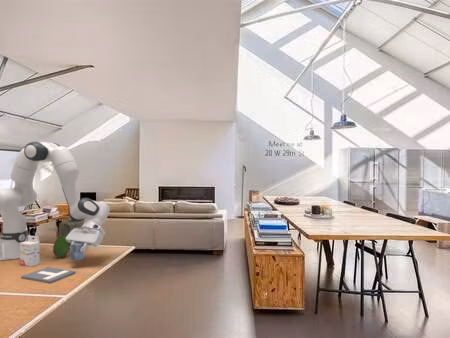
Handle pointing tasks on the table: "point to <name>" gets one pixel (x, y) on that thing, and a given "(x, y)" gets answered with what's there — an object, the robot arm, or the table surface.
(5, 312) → the table surface
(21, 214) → the robot arm
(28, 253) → the ink cartridge box
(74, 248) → the slate-blue block
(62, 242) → the fruit
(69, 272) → the letter board
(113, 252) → the table surface
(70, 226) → the olive bag
